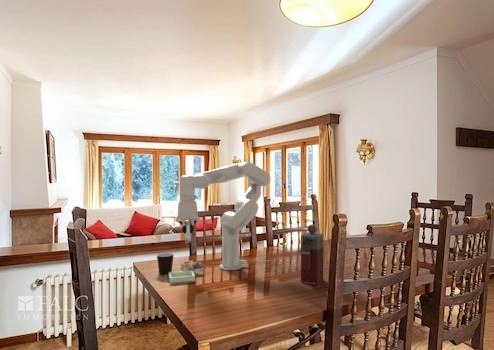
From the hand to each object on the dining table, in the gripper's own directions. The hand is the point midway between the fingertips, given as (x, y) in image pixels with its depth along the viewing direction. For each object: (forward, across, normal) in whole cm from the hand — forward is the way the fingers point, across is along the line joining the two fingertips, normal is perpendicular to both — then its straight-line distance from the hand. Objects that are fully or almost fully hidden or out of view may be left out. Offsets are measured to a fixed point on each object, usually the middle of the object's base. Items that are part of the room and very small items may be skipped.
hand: (187, 232), depth 177 cm
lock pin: (+5, 0, 0) cm, 5 cm away
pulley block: (+22, -2, 0) cm, 22 cm away
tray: (+22, +5, +10) cm, 24 cm away
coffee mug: (+22, +11, -5) cm, 25 cm away
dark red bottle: (+23, -56, +31) cm, 68 cm away
